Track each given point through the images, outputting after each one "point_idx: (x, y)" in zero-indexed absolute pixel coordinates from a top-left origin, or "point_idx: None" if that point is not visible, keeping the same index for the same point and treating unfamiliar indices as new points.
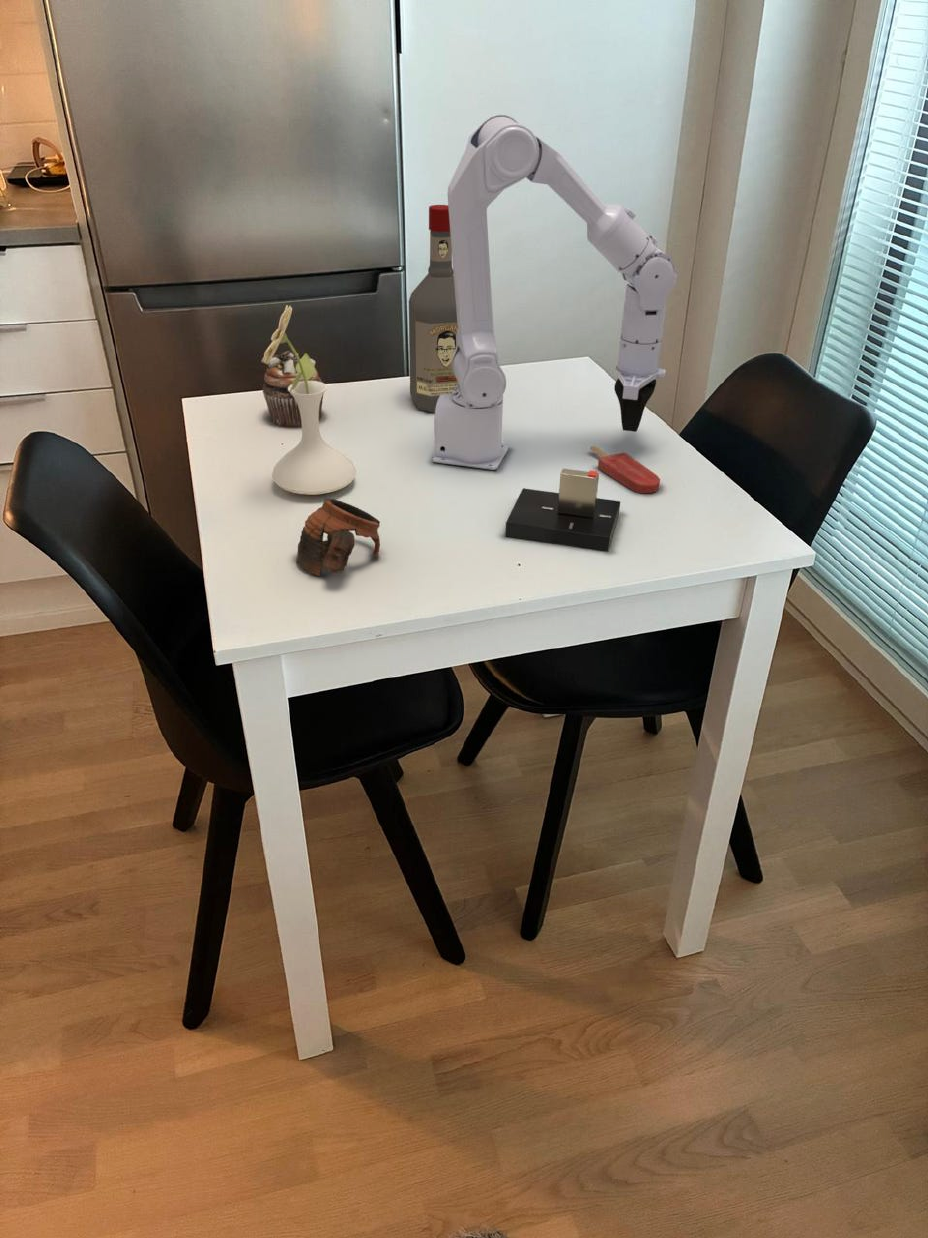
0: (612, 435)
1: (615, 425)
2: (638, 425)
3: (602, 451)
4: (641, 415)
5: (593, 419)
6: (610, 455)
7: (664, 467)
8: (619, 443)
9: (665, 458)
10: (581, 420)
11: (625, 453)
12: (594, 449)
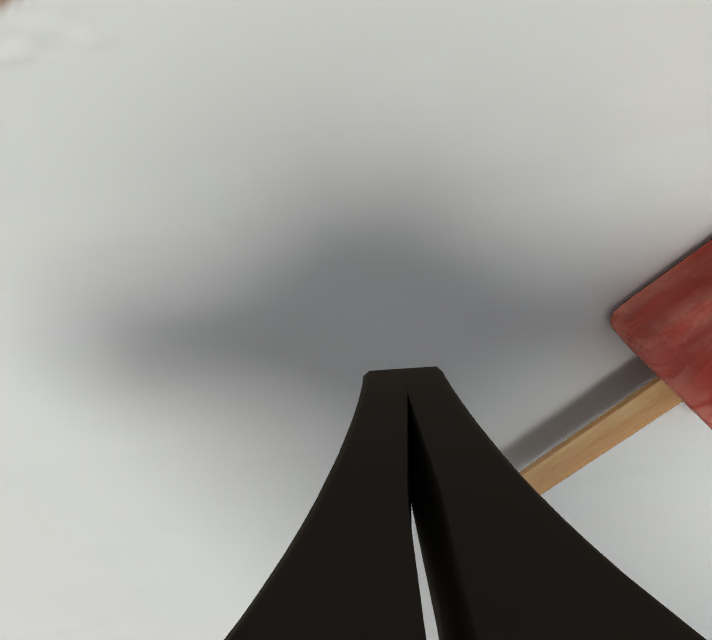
0: (232, 426)
1: (87, 437)
2: (454, 393)
3: (569, 444)
4: (506, 461)
5: (84, 527)
6: (707, 411)
7: (647, 23)
8: (325, 377)
9: (468, 48)
10: (132, 560)
11: (670, 341)
12: (550, 479)
